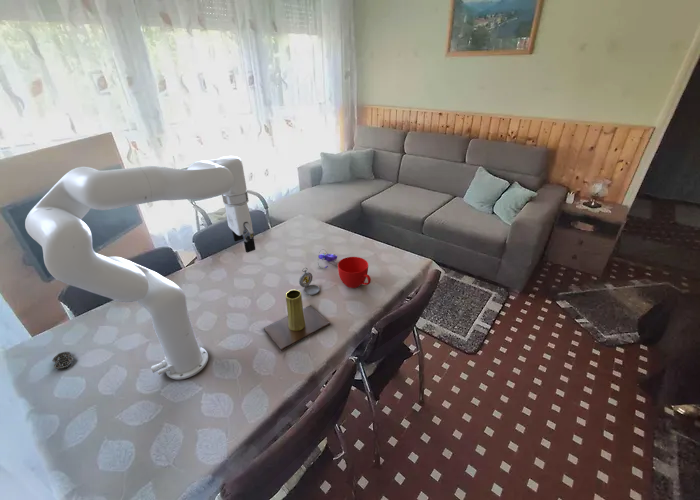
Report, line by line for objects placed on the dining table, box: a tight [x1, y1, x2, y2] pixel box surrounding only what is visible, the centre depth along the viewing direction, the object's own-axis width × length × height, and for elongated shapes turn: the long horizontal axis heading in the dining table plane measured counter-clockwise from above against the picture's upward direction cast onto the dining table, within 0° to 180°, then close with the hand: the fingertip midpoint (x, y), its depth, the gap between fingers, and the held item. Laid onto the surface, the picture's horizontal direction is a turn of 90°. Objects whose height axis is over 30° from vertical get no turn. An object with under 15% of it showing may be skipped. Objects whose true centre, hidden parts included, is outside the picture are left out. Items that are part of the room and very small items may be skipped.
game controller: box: [317, 248, 338, 269], centre depth 154 cm, size 10×8×10 cm
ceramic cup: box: [337, 256, 372, 289], centre depth 137 cm, size 13×17×10 cm
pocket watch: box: [298, 267, 320, 296], centre depth 135 cm, size 8×8×10 cm
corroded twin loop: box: [51, 351, 74, 370], centre depth 104 cm, size 5×8×1 cm, turn 49°
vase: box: [285, 289, 305, 331], centre depth 114 cm, size 6×6×14 cm
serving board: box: [263, 304, 330, 352], centre depth 118 cm, size 20×13×1 cm, turn 129°
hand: (244, 245), depth 109 cm, fingers open, 9 cm apart
